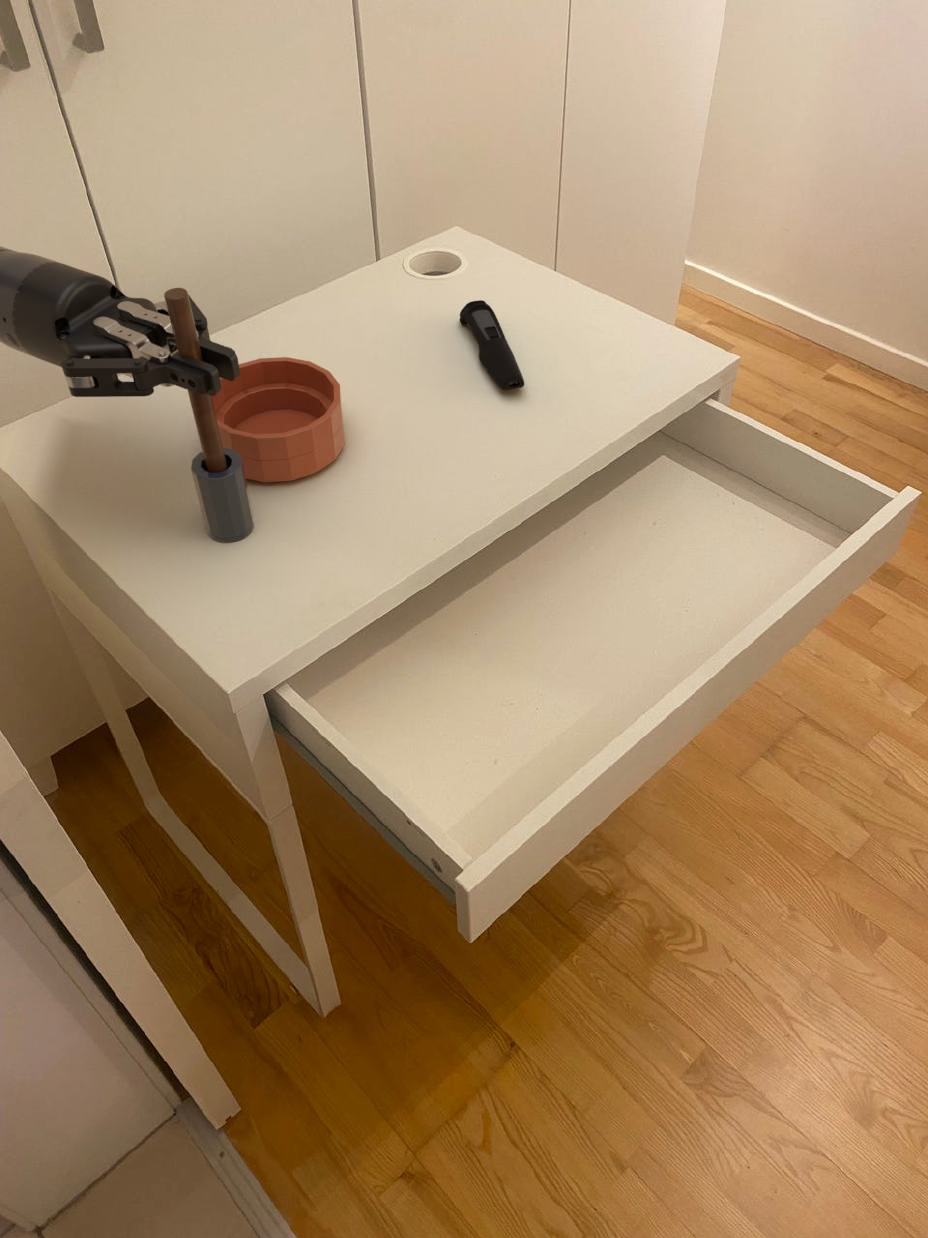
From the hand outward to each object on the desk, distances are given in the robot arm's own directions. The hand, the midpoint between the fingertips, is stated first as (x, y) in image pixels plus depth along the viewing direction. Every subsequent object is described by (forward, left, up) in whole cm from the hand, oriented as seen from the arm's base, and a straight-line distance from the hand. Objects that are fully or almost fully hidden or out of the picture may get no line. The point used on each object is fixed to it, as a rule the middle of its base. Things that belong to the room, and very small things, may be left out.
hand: (226, 374), depth 69 cm
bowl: (+2, +13, -16) cm, 21 cm away
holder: (-2, +2, -16) cm, 17 cm away
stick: (-2, +2, -14) cm, 14 cm away
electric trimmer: (+24, +26, -17) cm, 39 cm away
